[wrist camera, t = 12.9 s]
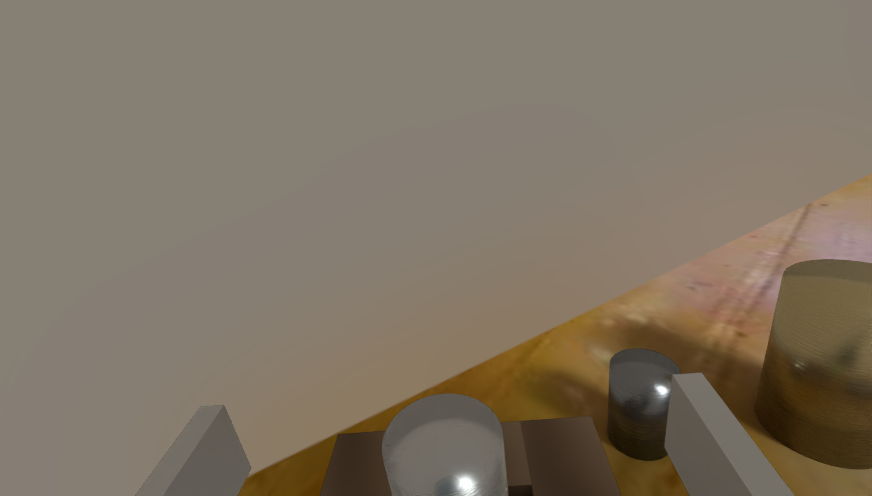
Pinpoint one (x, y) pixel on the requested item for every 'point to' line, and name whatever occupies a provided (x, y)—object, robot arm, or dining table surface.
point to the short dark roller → (639, 402)
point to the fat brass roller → (821, 363)
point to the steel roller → (445, 449)
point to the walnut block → (524, 455)
